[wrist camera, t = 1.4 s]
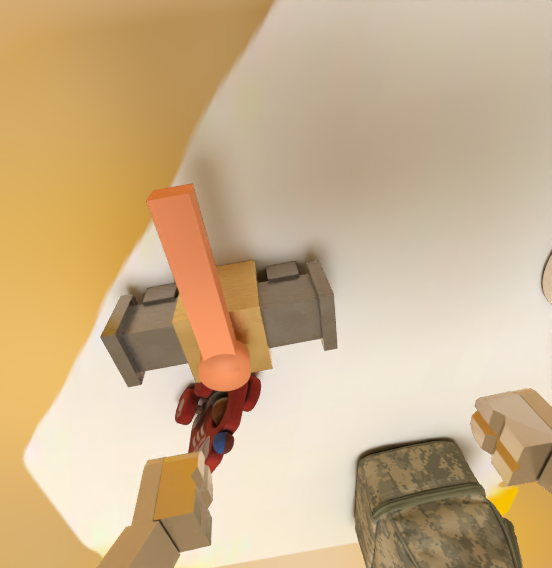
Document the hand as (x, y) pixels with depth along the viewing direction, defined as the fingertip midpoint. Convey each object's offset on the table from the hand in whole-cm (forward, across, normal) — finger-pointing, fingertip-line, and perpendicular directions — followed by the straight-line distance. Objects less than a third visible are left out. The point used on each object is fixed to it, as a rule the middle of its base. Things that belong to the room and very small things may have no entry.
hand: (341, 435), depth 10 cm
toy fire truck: (+25, +9, +23) cm, 35 cm away
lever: (+15, +6, +4) cm, 17 cm away
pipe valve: (+24, +5, +10) cm, 27 cm away
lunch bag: (+24, -16, +54) cm, 62 cm away
